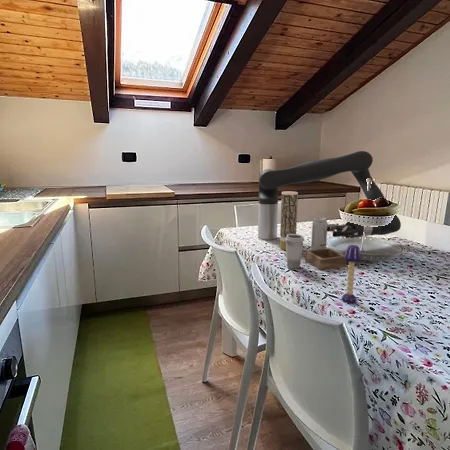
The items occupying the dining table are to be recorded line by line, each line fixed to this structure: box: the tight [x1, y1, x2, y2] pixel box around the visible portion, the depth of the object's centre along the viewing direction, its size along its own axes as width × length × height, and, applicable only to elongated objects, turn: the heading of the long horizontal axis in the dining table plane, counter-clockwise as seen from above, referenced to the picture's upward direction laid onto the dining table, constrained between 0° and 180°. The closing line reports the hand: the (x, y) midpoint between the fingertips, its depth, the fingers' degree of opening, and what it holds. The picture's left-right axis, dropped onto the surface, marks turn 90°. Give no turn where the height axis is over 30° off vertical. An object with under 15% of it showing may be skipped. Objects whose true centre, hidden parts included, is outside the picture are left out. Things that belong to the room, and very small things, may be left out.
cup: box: [285, 233, 305, 270], centre depth 128 cm, size 7×7×12 cm
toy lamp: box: [341, 244, 362, 304], centre depth 100 cm, size 5×5×17 cm
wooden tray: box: [304, 247, 347, 271], centre depth 132 cm, size 11×11×4 cm
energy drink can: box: [310, 216, 328, 251], centre depth 143 cm, size 6×6×15 cm
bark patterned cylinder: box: [279, 190, 299, 251], centre depth 148 cm, size 7×7×25 cm
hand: (326, 231), depth 144 cm, fingers open, 8 cm apart
